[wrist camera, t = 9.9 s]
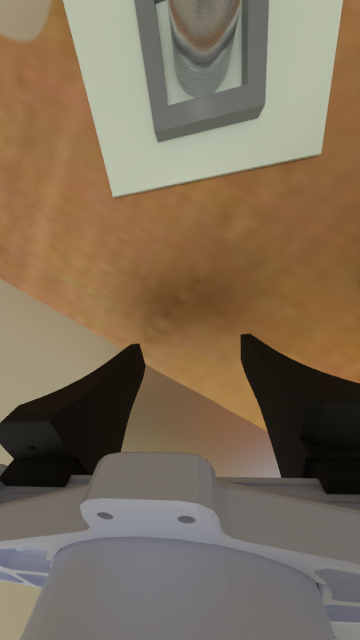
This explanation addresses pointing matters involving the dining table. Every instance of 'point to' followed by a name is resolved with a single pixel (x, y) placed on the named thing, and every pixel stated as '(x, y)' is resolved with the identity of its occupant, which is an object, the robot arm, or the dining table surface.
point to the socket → (210, 110)
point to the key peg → (202, 42)
